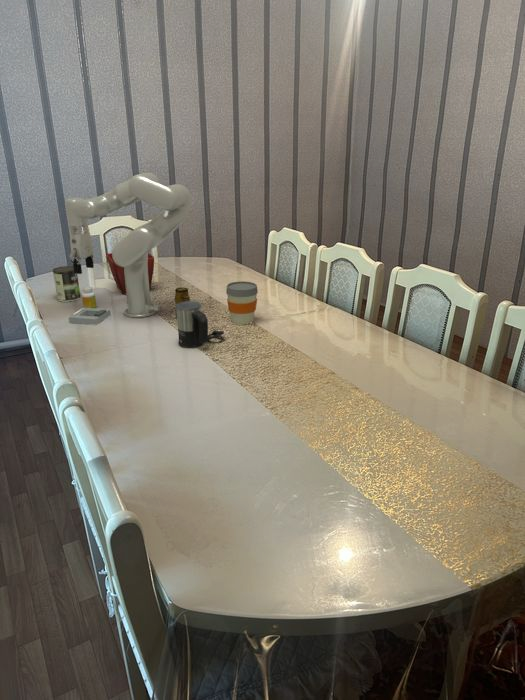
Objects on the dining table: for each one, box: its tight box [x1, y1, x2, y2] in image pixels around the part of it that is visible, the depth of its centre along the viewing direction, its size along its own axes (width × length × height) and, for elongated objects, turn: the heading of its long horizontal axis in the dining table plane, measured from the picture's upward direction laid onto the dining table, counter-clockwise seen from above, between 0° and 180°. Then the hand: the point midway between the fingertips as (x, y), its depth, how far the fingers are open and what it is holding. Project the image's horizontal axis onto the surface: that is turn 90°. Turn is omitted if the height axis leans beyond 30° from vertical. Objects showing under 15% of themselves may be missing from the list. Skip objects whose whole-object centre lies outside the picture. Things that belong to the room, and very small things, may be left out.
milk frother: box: [174, 300, 225, 349], centre depth 189 cm, size 14×16×15 cm
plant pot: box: [106, 252, 155, 295], centre depth 248 cm, size 19×19×17 cm
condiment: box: [171, 287, 191, 319], centre depth 213 cm, size 7×8×12 cm
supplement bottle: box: [81, 286, 98, 309], centre depth 223 cm, size 5×5×10 cm
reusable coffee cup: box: [225, 280, 259, 325], centre depth 208 cm, size 13×12×15 cm
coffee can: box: [52, 265, 82, 303], centre depth 236 cm, size 10×10×14 cm
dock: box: [68, 307, 111, 325], centre depth 213 cm, size 12×12×3 cm
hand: (84, 270), depth 218 cm, fingers open, 9 cm apart
